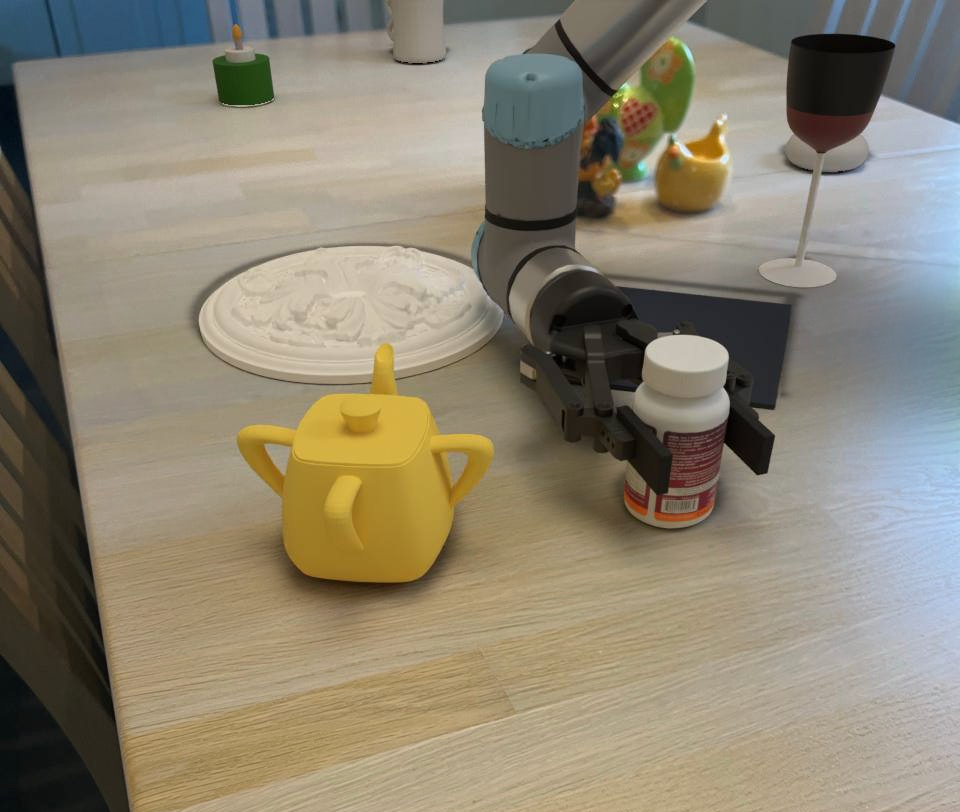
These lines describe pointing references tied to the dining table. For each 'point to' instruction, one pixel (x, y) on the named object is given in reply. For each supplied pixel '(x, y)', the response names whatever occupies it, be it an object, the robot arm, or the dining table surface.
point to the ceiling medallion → (349, 314)
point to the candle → (243, 74)
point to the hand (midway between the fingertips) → (715, 465)
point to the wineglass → (828, 120)
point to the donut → (828, 154)
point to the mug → (417, 30)
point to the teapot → (366, 482)
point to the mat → (722, 332)
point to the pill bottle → (681, 428)
